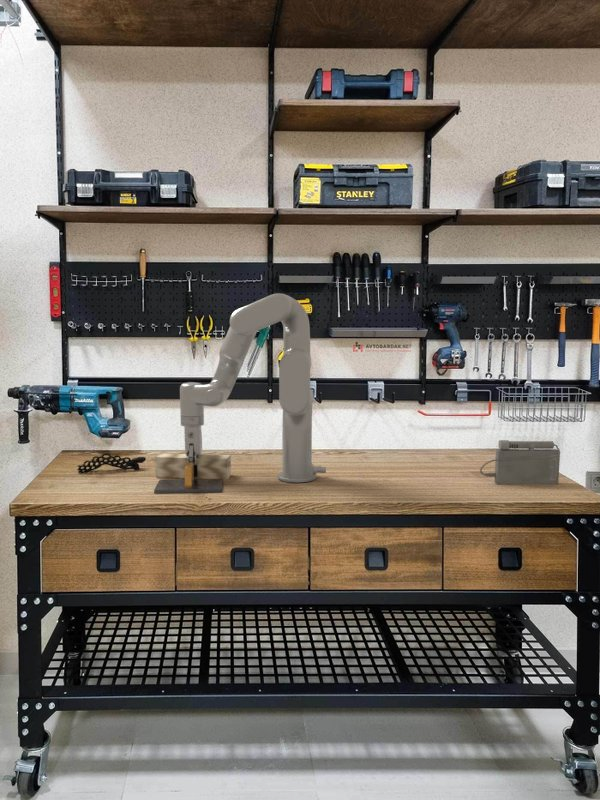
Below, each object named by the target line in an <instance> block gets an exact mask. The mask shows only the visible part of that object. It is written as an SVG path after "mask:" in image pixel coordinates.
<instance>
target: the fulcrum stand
mask: <svg viewBox="0 0 600 800" xmlns="http://www.w3.org/2000/svg"><path fill="white" fill-rule="evenodd" d="M223 483H224V479H201V478H194V462H187V464H186V466H185V478H174V479H159V480H158V482H157V484H156V486H155V488H154V490H153V494H188V493H189V494H191V493H192V494H195V493H198V494H201V493H221V492H222V489H223Z"/></svg>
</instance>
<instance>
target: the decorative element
mask: <svg viewBox="0 0 600 800" xmlns="http://www.w3.org/2000/svg"><path fill="white" fill-rule="evenodd" d="M106 456H108V457H106ZM95 459H96V460H95ZM100 459H102V460H100ZM111 459H112V460H111ZM145 461H147V459H146V457H145V456H139V457H138V456H137V457H135V458H132V459H131V458H130V457H128V456H125V457H124V458H122V457H121V456H120V455H114V456H113V455H112V454H110V453H107V452H105V453H102V455H100V456H97V455H95V456H93V457H92V459H91V460H85V461H84V462H83V464H79V465H77V473H79V474H84V473H89V472H92V471H95V470H97V469H99V468H101V467H102V466H105V465H108V466H110V467H113V468H119V469H122V470H134V471H139V470H140V464H142V463H144V462H145Z"/></svg>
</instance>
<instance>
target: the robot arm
mask: <svg viewBox="0 0 600 800" xmlns="http://www.w3.org/2000/svg"><path fill="white" fill-rule="evenodd" d="M279 322H281V324H282V328H283V330H282V331H283V333H282V334H283V335H282V336H283V337H282V339H283V354H282V356H281V357H280V360H279V365H278V378H279V379H278V385H279V386H278V391H279V392H278V394H279V395H278V396H279V397H278V398H279V405H280V408H281V409H282V427H281V428H282V430H281V431H282V435H281V437H282V439H281V441H282V443H281V444H282V445H281V446H282V447H281V448H282V449H281V450H282V455H281V456H282V460H281V462H282V471H281V472H279V473H278V474H277V479H278V480H280V481H282V482H287V483H307V482H312V481H315V480H316V479H317V473H318V474H319V473H320V474H326V473H327V470H326V469H327V468H326V466H321V465H319V466H318V465H317V466H315V465H313V462H312V457H313V456H312V455H313V453H312V452H313V451H312V450H313V448H312V447H313V446H312V445H313V444H312V441H313V439H312V437H313V436H312V435H313V433H312V431H313V402H314V401H313V392H312V389H311V367H312V358H311V357H312V356H311V329H310V328H311V326H310V321H309V316H308V312H307V311H306V309H305V308H304V306H303V305H302V304H301V303H300V302H299V301H298V300H296V299H295V298H293V297H291V296H290V295H288V294H285V293H273V294H270V295H267V296H265V297H263V298H261V299H258V300H256V301H254V302H252V303H250V304H247V305H244V306H242V307H240V308H237V309H235V310H234V311H233V312H232V314H230V317H229V328H228V331H227V332H226V335H225V336H224V340H223V341H222V343H221V346H220V348H219V360H218V364H217V367H216V370H215V372H214V375H213V377H212V379H211V381H210V382H209V383H207V384H203V383H200V382H195V381H194V382H193V381H188V382H184V383H182V384H181V385H180V386H179V403H180V404H179V406H180V408H179V409H180V410H179V411H180V426H182V427H184V428H183V429H184V431H183V432H184V450H185V451H184V454H186V456H188V462H194V477H197V465H196V457H197V455H198V456H200V455H201V454H202V452H203V437H202V426H205V416H204V415H205V414H204V412H205V409H204V407H211V408H215V407H218V406H220V405H222V404H223V403H224V402H226V401H227V399H228V398H229V397H230V395H231V393H232V390H233V388H234V386H235V383H236V381H237V379H238V377H239V374H240V372H241V370H242V368H243V365H244V362H245V359H246V357H247V355H248V353H249V350H250V348H251V346H252V344H253V342H254V339H255V337H256V334H257V332H258V331H261V330H263V329H265V328H268V327H269V326H272V325H275V324H277V323H279ZM193 454H195V455H193ZM194 458H195V459H194Z"/></svg>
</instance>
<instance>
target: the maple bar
mask: <svg viewBox="0 0 600 800" xmlns="http://www.w3.org/2000/svg"><path fill="white" fill-rule="evenodd" d="M193 455H195V454H193ZM231 456H232V455H231V454H202V453H201V455H200V456H198V455H197V457H196V465H197V477H194V479H202V478H203V479H223V480H228V479H229V478H230V477H231V475H232V469H231V468H232V465H231V464H232V460H231V459H232V457H231ZM194 459H195V458H194ZM187 462H188V456H186V454H185V453H165V452H164V453H159V454H157V455H156V456H155V457H154V465H155V467H154V468H155V469H154V470H155V472H154V473H155V478H167V477H179V478H178V479H185V466H186V464H187Z"/></svg>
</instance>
